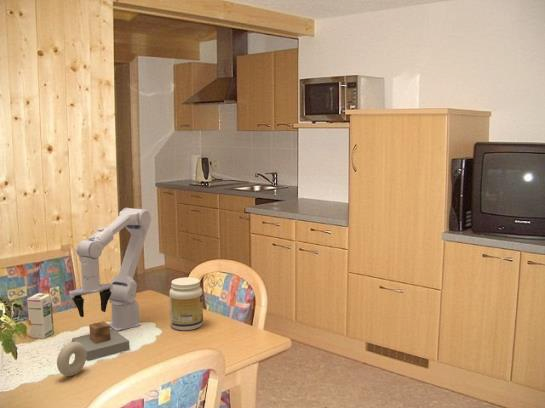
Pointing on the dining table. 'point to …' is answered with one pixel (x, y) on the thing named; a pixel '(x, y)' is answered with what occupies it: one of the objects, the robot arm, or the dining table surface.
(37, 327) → the syrup box
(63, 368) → the donut
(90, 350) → the slate plinth
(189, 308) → the supplement tub
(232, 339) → the dining table surface
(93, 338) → the walnut block
